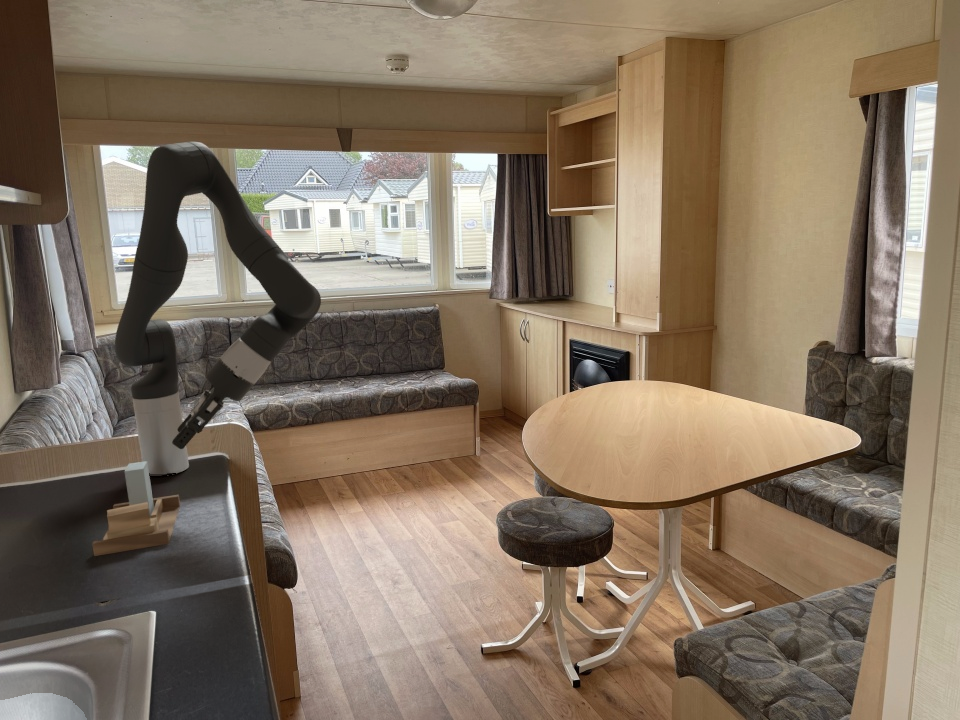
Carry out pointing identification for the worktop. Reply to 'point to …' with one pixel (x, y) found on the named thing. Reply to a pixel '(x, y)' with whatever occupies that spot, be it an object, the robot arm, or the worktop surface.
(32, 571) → the worktop surface
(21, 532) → the worktop surface
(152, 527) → the offcut low
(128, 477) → the block
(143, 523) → the offcut top
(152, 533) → the rack
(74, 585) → the worktop surface
